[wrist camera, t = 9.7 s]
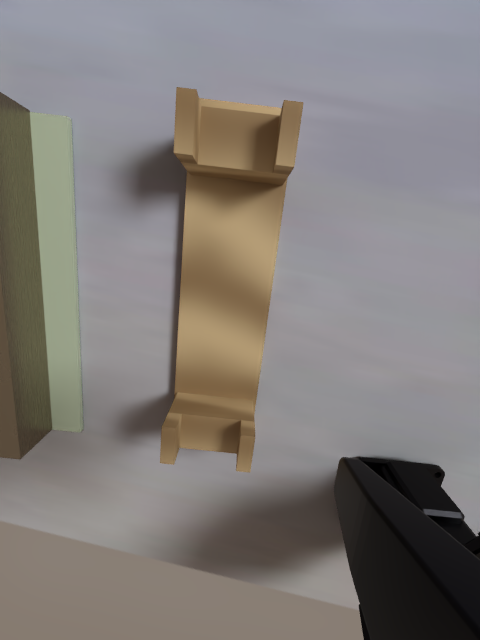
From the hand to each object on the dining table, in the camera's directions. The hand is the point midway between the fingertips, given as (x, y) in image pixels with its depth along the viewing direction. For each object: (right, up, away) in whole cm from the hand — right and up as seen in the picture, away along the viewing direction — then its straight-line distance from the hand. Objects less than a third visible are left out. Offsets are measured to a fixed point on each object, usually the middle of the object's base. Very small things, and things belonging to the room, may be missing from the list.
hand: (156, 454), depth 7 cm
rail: (-12, +5, +11) cm, 17 cm away
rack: (+1, +5, +11) cm, 12 cm away
